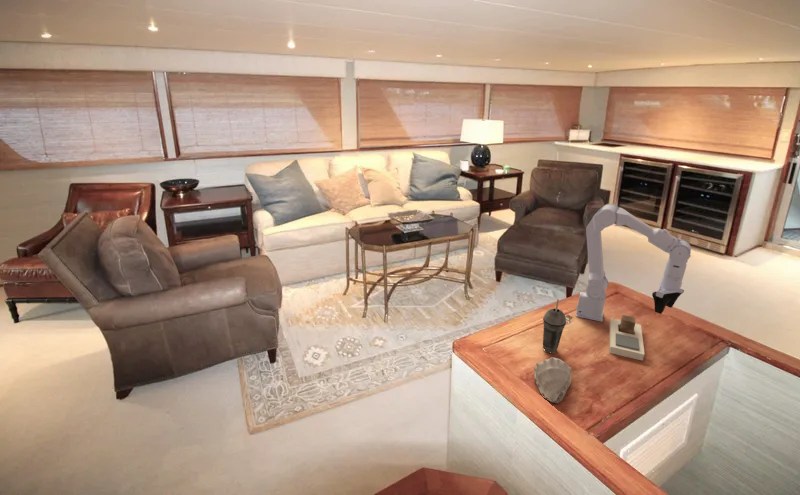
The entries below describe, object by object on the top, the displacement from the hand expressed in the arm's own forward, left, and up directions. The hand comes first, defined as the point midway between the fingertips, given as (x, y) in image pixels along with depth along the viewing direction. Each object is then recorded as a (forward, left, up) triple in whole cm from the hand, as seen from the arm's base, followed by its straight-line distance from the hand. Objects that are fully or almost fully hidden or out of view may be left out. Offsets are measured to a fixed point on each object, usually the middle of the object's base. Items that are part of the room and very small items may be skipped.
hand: (663, 309), depth 148 cm
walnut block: (-11, -7, -10) cm, 16 cm away
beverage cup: (-34, -28, -10) cm, 45 cm away
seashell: (-30, -47, -10) cm, 57 cm away
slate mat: (-11, -16, -8) cm, 20 cm away
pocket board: (-11, -11, -10) cm, 18 cm away
